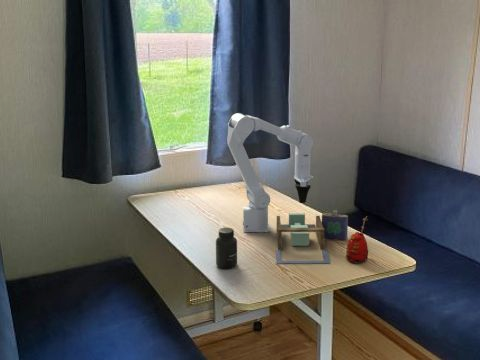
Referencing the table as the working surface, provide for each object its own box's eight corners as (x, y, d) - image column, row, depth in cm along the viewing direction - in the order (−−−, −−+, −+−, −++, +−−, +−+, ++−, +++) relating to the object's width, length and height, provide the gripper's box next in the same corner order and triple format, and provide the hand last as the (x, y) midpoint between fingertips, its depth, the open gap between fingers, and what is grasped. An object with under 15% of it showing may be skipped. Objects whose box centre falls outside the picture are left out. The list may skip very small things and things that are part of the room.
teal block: (291, 245, 184) (291, 232, 183) (288, 225, 204) (288, 213, 202) (309, 245, 184) (309, 232, 183) (304, 224, 203) (304, 213, 202)
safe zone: (276, 263, 171) (276, 262, 171) (275, 250, 181) (275, 249, 181) (330, 263, 171) (330, 262, 171) (326, 250, 181) (326, 249, 181)
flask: (347, 238, 191) (348, 210, 188) (346, 241, 188) (347, 212, 185) (321, 236, 193) (322, 208, 190) (320, 239, 191) (321, 210, 188)
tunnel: (277, 249, 182) (278, 229, 180) (276, 232, 197) (276, 213, 195) (324, 249, 181) (324, 229, 179) (319, 232, 197) (319, 213, 195)
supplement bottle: (235, 270, 167) (234, 234, 164) (213, 269, 168) (212, 233, 165) (239, 261, 174) (238, 226, 170) (219, 260, 175) (217, 225, 172)
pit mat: (278, 230, 199) (278, 230, 199) (278, 225, 204) (278, 224, 204) (316, 230, 198) (316, 230, 198) (314, 225, 204) (314, 224, 204)
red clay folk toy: (344, 255, 177) (345, 212, 173) (365, 255, 177) (367, 212, 173) (347, 264, 170) (349, 220, 166) (370, 264, 169) (372, 220, 165)
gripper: (314, 170, 193) (313, 205, 197) (311, 160, 207) (310, 193, 211) (295, 169, 194) (294, 205, 197) (293, 160, 207) (292, 193, 211)
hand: (301, 199), depth 204 cm, fingers open, 7 cm apart
